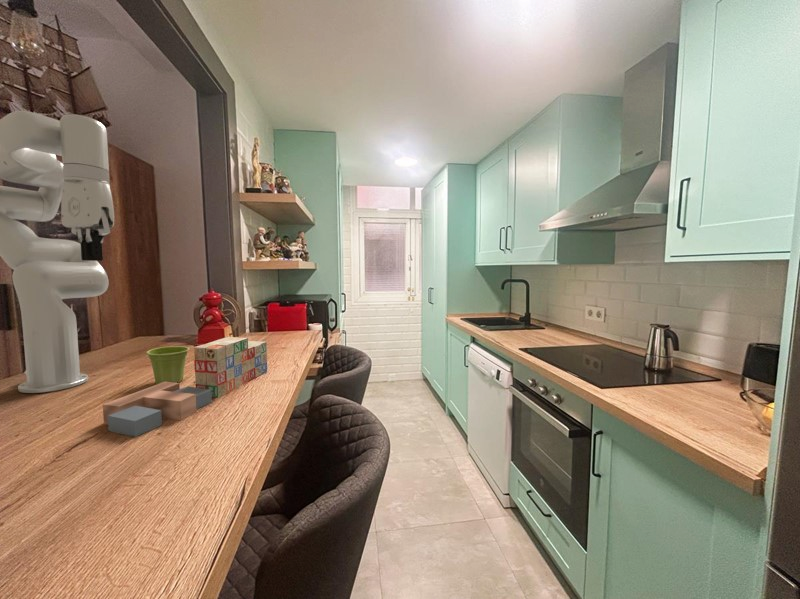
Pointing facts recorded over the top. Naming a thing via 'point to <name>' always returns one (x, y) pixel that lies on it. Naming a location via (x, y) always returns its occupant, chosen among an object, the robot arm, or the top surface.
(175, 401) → the t block
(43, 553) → the top surface
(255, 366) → the stack of blocks
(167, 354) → the plant pot
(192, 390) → the t dock
